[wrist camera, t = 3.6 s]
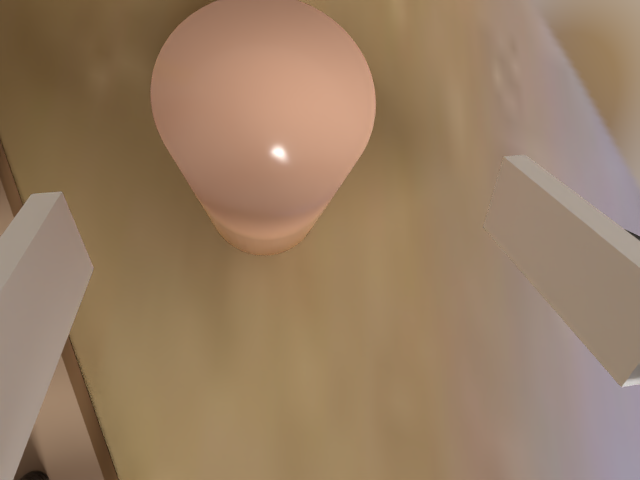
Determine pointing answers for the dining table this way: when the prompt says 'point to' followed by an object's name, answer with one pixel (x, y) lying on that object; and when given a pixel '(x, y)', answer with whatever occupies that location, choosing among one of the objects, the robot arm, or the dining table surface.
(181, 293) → the dining table surface
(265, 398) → the dining table surface
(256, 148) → the peach rounded cylinder
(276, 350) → the dining table surface
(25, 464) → the wire base
